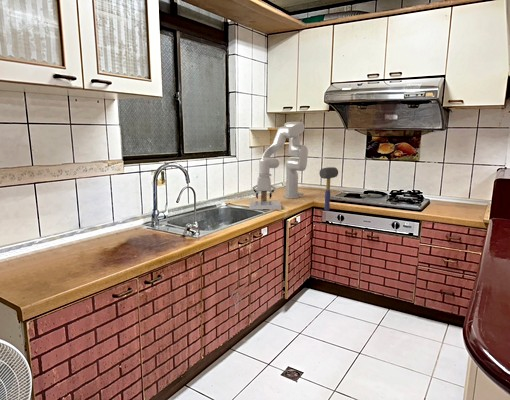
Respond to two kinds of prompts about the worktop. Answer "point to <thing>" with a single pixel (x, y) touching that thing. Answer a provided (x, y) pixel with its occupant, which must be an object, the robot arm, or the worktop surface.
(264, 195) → the walnut wedge
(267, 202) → the rosette plate
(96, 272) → the worktop surface
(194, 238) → the worktop surface
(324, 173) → the rubber mallet
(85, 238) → the worktop surface
